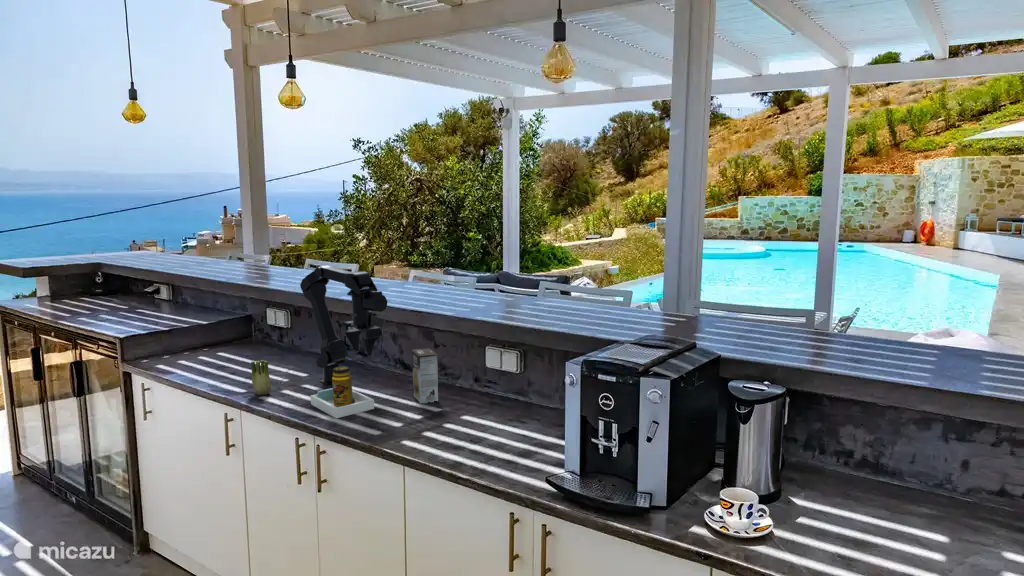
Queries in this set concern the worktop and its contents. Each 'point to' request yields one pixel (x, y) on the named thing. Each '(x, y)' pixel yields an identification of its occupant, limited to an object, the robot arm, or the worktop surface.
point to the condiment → (342, 387)
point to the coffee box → (425, 375)
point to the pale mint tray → (360, 405)
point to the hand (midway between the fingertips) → (363, 353)
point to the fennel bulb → (261, 377)
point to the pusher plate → (325, 394)
